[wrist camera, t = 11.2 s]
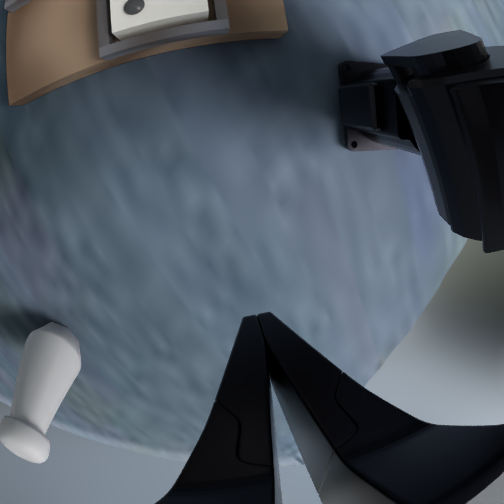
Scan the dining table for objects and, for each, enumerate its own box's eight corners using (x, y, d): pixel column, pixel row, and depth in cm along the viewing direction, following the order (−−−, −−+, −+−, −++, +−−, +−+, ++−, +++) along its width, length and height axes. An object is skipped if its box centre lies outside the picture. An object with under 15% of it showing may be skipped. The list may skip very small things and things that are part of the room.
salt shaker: (26, 328, 21) (-22, 433, 9) (54, 304, 20) (-3, 427, 9) (66, 365, 24) (37, 472, 12) (98, 347, 23) (69, 472, 12)
